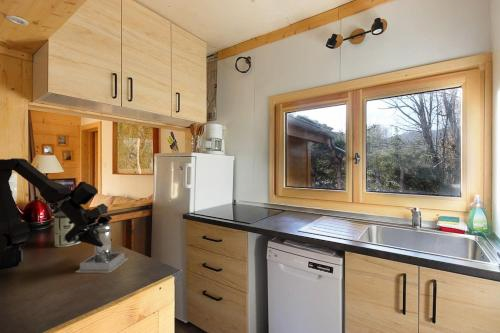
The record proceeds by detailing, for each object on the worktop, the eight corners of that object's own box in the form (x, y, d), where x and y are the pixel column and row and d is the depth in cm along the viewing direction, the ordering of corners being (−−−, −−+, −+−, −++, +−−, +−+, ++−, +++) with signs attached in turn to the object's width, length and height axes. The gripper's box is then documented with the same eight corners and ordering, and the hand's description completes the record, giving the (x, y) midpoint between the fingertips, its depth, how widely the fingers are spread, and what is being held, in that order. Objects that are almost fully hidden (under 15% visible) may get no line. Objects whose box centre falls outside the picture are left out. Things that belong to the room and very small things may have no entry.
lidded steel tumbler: (98, 266, 86) (97, 229, 85) (90, 262, 89) (90, 226, 89) (115, 261, 90) (114, 225, 90) (107, 257, 94) (107, 223, 94)
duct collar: (75, 272, 84) (75, 264, 84) (97, 258, 96) (97, 251, 96) (110, 272, 84) (110, 264, 84) (127, 258, 96) (127, 251, 96)
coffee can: (75, 238, 122) (75, 210, 121) (85, 242, 116) (85, 212, 116) (50, 244, 113) (49, 214, 113) (59, 248, 107) (59, 216, 107)
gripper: (73, 202, 80) (107, 235, 80) (107, 194, 99) (134, 222, 99) (49, 225, 80) (83, 259, 80) (87, 214, 99) (115, 241, 99)
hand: (106, 243), depth 90 cm, fingers open, 5 cm apart
